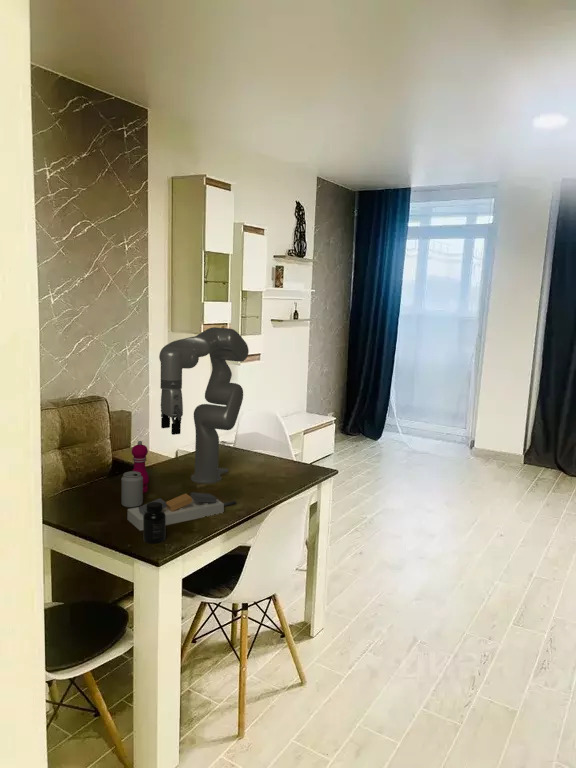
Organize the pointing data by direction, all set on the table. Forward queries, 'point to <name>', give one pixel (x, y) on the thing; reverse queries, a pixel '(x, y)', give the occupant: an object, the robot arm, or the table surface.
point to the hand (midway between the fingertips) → (170, 430)
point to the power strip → (181, 512)
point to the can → (132, 489)
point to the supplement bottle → (154, 524)
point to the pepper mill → (141, 462)
